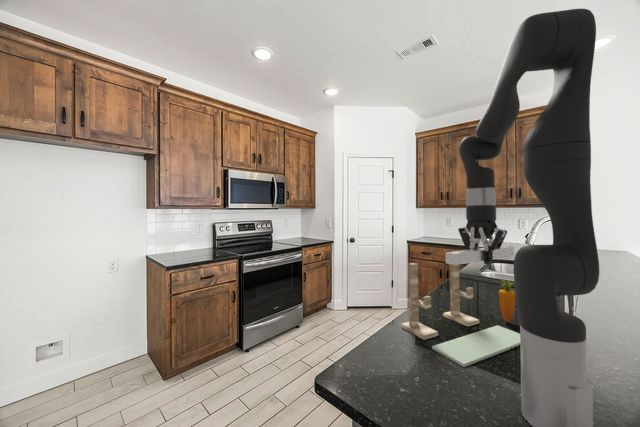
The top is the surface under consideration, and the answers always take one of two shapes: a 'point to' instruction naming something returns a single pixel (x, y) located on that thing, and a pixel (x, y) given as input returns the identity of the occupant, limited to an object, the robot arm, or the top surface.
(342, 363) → the top surface
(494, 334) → the mat
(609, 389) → the top surface
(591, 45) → the robot arm
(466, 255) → the rail
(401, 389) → the top surface
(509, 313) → the carrot
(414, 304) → the hook stands
